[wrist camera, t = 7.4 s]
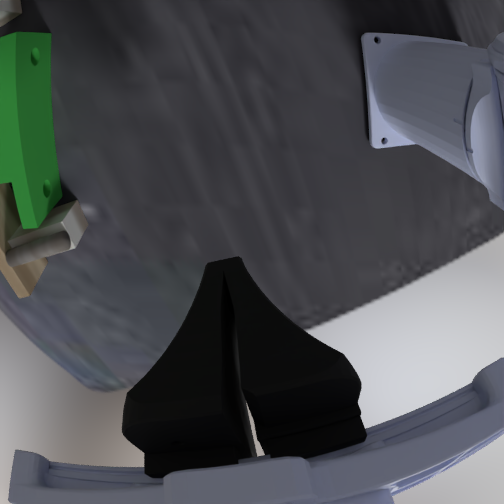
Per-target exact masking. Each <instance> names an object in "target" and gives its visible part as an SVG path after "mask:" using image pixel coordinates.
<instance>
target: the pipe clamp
mask: <svg viewBox="0 0 504 504" xmlns="http://www.w3.org/2000/svg"><path fill="white" fill-rule="evenodd" d="M10 182H12V186H13V191H14V195H15V200H16V204H17V208H18V212H19V216H20V220H21V223H22V227H23V229H31V228H38V227H39V226H40V224H41V223H42V222H43V220H44V219H45V218H46V216H47V215H48V214H49V212H50V211H51V210H52V209H53V207H54V206H55V205H56V204H57V202H58V201H59V200H60V199H61V197H62V196H63V195H62V190H61V184H60V177H59V171H58V164H57V156H56V148H55V139H54V128H53V116H52V100H51V33H35V32H15V33H12V34H9V35H6V36H3V37H0V184H2V183H10Z"/></svg>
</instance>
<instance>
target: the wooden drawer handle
mask: <svg viewBox="0 0 504 504" xmlns="http://www.w3.org/2000/svg"><path fill="white" fill-rule="evenodd" d="M20 14H22V8H21V1H20V0H0V27H1V26H3V25H4V24H6V23H7V22H9V21H11V20H12V19H14V18H15V17H17V16H18V15H20ZM87 226H88V223H87V220H86V218H85V216H84V214H83V211H82V209H81V207H80V204H79V202H78V200H75V201H72V202H69V203H67V204H64V205H61V206H58V207H56V208H53V209H52V210H51V211H50V212H49V214H48V215H47V216H46V218H45V219H44V220H43V222H42V223H41V224H40V226H39V227H38V228H31V229H23V227H22V223H21V220H20V216H19V212H18V208H17V204H16V200H15V196H14V194H13V191H12V189H11V187H10V184H9V183H2V184H0V270H1V271H2V273H3V274H4V276H5V278H6V279H7V281H8V282H9V284H10V285H11V287H12V288H13V290H14V291H15V293H16V294H17V296H18V297H19V298H23V297H27V296H30V295H31V293H32V291H33V289H34V287H35V285H36V283H37V281H38V279H39V278H40V276H41V274H42V272H43V270H44V268H45V266H46V265H47V263H48V261H47V259H46V258H45V257H48V256H51V255H54V254H58V253H61V252H64V251H68V250H71V249H74V248H76V246H77V244H78V243H79V241H80V239H81V237H82V235H83V233H84V231H85V229H86V228H87Z"/></svg>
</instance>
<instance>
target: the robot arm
mask: <svg viewBox="0 0 504 504" xmlns="http://www.w3.org/2000/svg"><path fill="white" fill-rule="evenodd" d="M375 37H377V39H378V43H377V44H376V43H375V42H374V38H375ZM361 42H362V50H363V59H364V68H365V78H366V90H367V103H368V119H369V141H370V144H371V146H373V147H374V148H385V147H394V146H402V145H411V144H418V145H420V146H422V147H424V148H425V149H427V150H429V151H431V152H433V153H434V154H436V155H438V156H439V157H441V158H443V159H444V160H446V161H448V162H449V163H451V164H453V165H454V166H456V167H457V168H459V169H461V170H462V171H464V172H465V173H467V174H468V175H470V176H471V177H473V178H475V179H476V180H477V181H479V182H480V183H482V184H483V185H484V186H485V187H486V188H487V189H488V192H489V196H490V200H491V201H492V202H493V203H495V204H496V205H497V206H498V207H500V208H501V209H502V210H504V32H503V33H500V34H499V35H497V37H496V38H495V40H494V41H493V42H492V43H491V44H490V45H489V46H488V48H487V49H482V48H476V47H470V46H468V45H467V44H466V43H464V42H458V41H452V40H446V39H439V38H432V37H424V36H414V35H403V34H389V33H364V34H363V35H362V37H361ZM382 138H385V141H384V142H383V143H381V140H382ZM360 391H361V381H360V378H359V376H358V374H357V373H356V371H355V369H354V368H353V366H352V365H351V363H350V362H349V361H348V359H347V358H346V357H345V355H344V354H343V353H341V352H339V351H337V350H335V349H333V348H331V347H329V346H328V345H326V344H324V343H322V342H321V341H319V340H317V339H316V338H314V337H313V336H311V335H310V334H308V333H307V332H306V331H304V330H303V329H302V328H300V327H299V326H297V325H296V324H295V323H293V322H292V321H291V320H290V319H289V318H288V317H286V316H285V315H284V314H283V313H282V312H281V311H280V310H279V309H278V308H277V307H276V306H275V305H274V304H273V303H272V302H271V301H270V300H269V299H268V298H267V297H266V296H265V294H264V293H263V292H262V291H261V290H260V288H259V287H258V286H257V284H256V283H255V282H254V280H253V279H252V277H251V276H250V274H249V273H248V271H247V269H246V268H245V266H244V263H243V261H242V258H240V257H239V256H238V257H233V258H228V259H223V260H219V261H214V262H209V263H207V265H206V267H205V271H204V274H203V277H202V280H201V283H200V286H199V289H198V291H197V294H196V296H195V299H194V301H193V304H192V306H191V308H190V310H189V312H188V314H187V316H186V318H185V320H184V322H183V324H182V326H181V327H180V329H179V331H178V333H177V334H176V336H175V337H174V339H173V340H172V342H171V343H170V345H169V346H168V348H167V349H166V351H165V352H164V353H163V355H162V356H161V357H160V359H159V360H158V361H157V362H156V363H155V365H154V366H153V367H152V368H151V369H150V371H149V372H148V373H147V374H146V375H145V376H144V377H143V378H142V379H141V380H140V381H139V382H138V383H137V384H136V385H135V386H134V387H133V388H132V389H131V390H130V391H129V392H127V396H126V401H125V405H124V410H123V423H122V433H123V435H124V436H125V437H126V439H127V440H128V441H130V442H131V443H132V444H133V445H135V446H136V447H137V448H139V449H140V450H141V451H142V452H144V453H145V454H144V455H145V456H144V459H145V460H144V464H145V465H144V467H104V466H89V465H77V464H67V463H59V462H51V461H49V460H47V459H46V458H45V457H43V456H41V455H39V454H36V453H33V452H28V451H22V450H15V454H14V460H13V466H12V473H11V480H10V488H9V498H8V500H9V502H10V503H12V504H394V501H393V498H392V496H394V495H396V494H398V493H401V492H403V491H405V490H407V489H410V488H412V487H414V486H416V485H418V484H420V483H422V482H424V481H426V480H428V479H430V478H432V477H434V476H436V475H438V474H440V473H441V472H443V471H445V470H447V469H448V468H450V467H452V466H454V465H456V464H457V463H459V462H461V461H463V460H464V459H465V458H467V457H469V456H471V455H472V454H474V453H476V452H477V451H479V450H480V449H482V448H483V447H485V446H487V445H488V444H490V443H491V442H492V441H494V440H496V439H497V438H498V437H500V436H501V435H503V434H504V358H500V359H499V360H497V361H495V362H494V363H492V364H490V365H488V366H487V367H485V368H483V369H482V370H481V371H480V372H479V373H478V374H477V375H476V376H475V377H474V379H473V381H472V383H470V384H468V385H467V386H465V387H463V388H461V389H459V390H457V391H455V392H453V393H451V394H449V395H447V396H445V397H443V398H441V399H439V400H437V401H434V402H432V403H430V404H428V405H426V406H423V407H421V408H419V409H416V410H414V411H412V412H409V413H407V414H404V415H402V416H399V417H397V418H395V419H392V420H389V421H386V422H384V423H381V424H378V425H376V426H373V427H370V428H367V429H365V428H364V425H363V422H362V420H361V417H360V415H361V410H360V408H359V405H358V399H359V395H360ZM246 402H247V404H248V407H249V410H250V412H251V415H252V417H253V420H254V424H255V430H256V435H257V440H258V441H259V442H260V445H261V447H262V449H263V451H264V454H265V455H264V456H258V457H257V453H256V449H255V444H254V439H253V435H252V430H251V425H250V420H249V416H248V410H247V406H246Z"/></svg>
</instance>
